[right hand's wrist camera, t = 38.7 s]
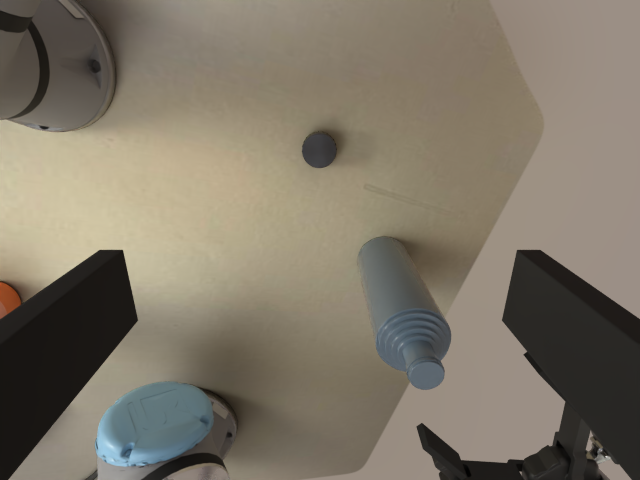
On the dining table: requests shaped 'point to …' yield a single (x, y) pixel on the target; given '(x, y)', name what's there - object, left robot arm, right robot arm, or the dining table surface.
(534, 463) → the left robot arm
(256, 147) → the dining table surface
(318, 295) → the dining table surface
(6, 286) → the cup with straw
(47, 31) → the right robot arm
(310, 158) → the cap
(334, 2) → the dining table surface
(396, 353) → the bottle
